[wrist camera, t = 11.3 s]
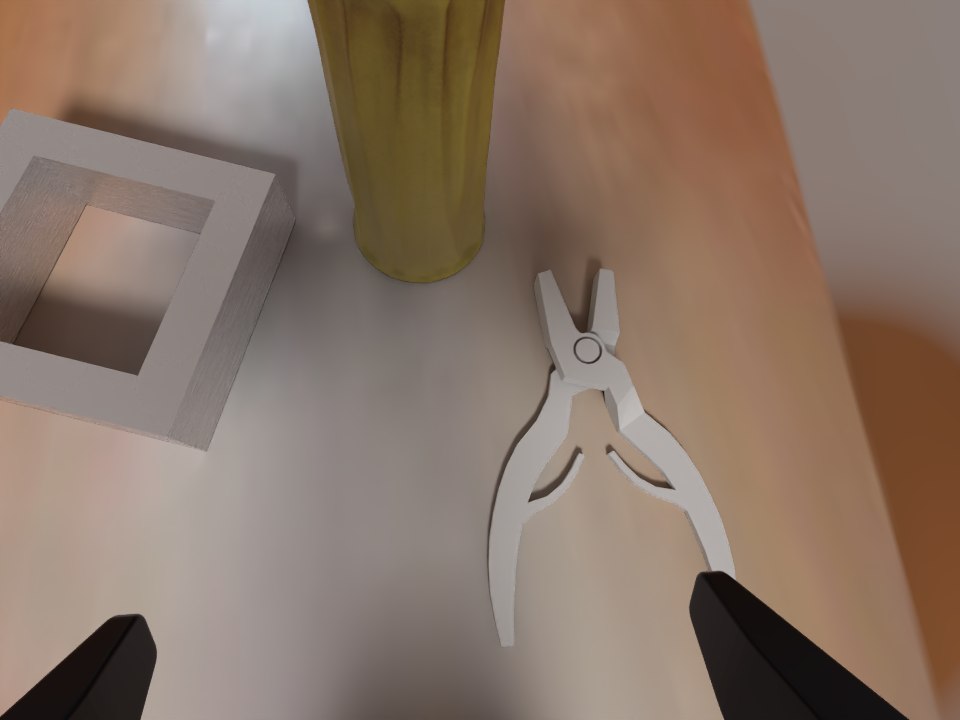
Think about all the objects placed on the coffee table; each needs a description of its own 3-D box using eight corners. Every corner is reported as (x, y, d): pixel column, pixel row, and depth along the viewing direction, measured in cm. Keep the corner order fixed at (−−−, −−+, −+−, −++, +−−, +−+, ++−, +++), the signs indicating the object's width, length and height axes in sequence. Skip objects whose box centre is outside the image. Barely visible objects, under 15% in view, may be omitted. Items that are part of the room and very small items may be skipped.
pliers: (497, 652, 20) (465, 273, 25) (493, 644, 22) (463, 288, 26) (757, 623, 21) (682, 263, 26) (735, 617, 23) (668, 278, 27)
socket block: (206, 451, 23) (166, 436, 20) (-58, 385, 23) (-143, 360, 20) (295, 219, 26) (275, 173, 23) (65, 162, 26) (11, 108, 23)
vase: (472, 163, 28) (506, -193, 14) (496, 275, 26) (560, -8, 13) (347, 177, 27) (256, -184, 13) (363, 293, 25) (278, 14, 12)
